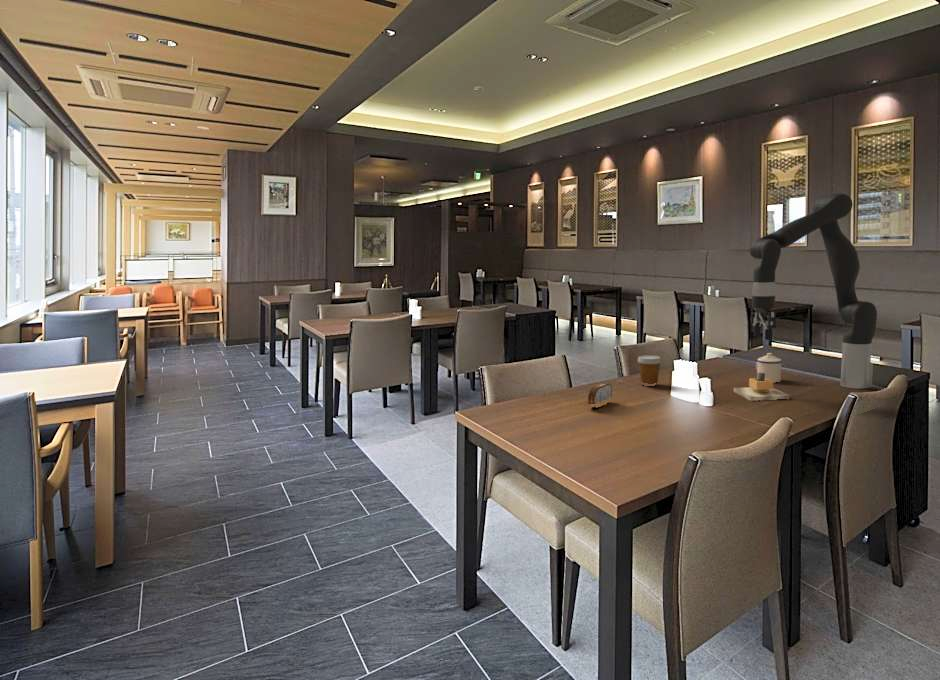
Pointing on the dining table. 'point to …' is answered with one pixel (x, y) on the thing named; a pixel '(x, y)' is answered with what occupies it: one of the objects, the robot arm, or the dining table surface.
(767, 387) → the orange square socket block
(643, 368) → the disposable coffee cup
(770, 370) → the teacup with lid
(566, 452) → the dining table surface
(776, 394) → the post stand
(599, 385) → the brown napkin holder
